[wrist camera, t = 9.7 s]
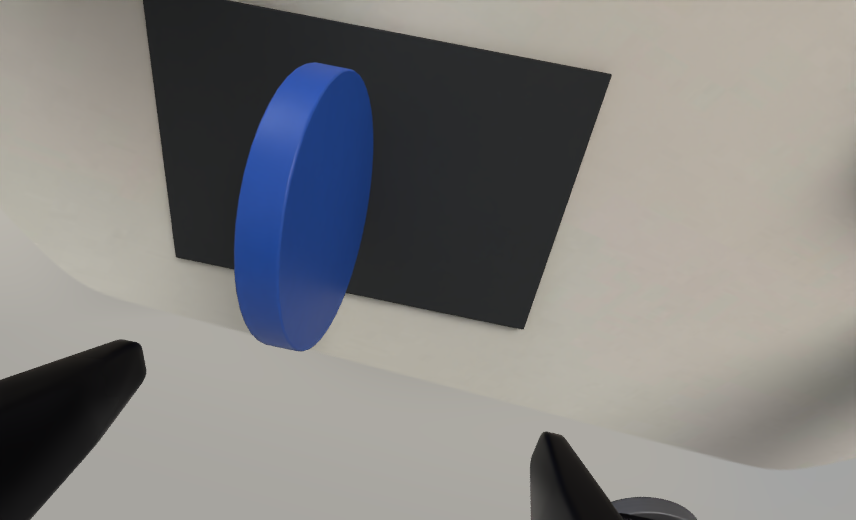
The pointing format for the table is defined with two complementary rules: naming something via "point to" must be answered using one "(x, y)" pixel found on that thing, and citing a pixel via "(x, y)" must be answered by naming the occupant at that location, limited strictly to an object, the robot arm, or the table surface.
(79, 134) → the table surface
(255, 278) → the plate
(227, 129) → the mat
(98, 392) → the robot arm
